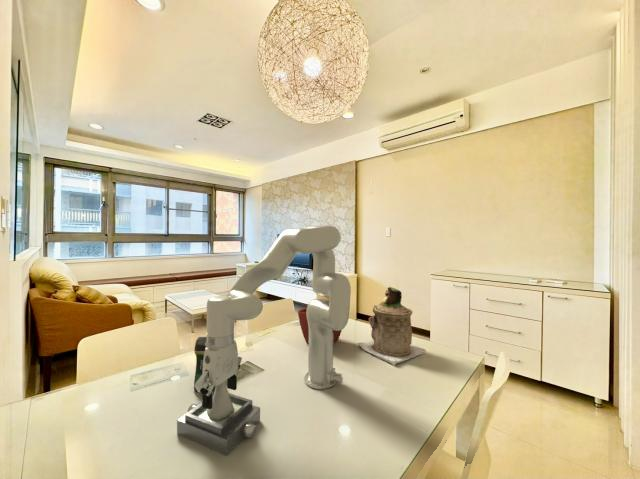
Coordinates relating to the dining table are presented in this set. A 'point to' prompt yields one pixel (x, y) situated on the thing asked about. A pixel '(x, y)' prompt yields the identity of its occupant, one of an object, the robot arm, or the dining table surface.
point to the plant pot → (305, 327)
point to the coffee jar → (200, 359)
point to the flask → (220, 403)
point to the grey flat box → (220, 425)
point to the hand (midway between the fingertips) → (220, 397)
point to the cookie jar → (391, 330)
